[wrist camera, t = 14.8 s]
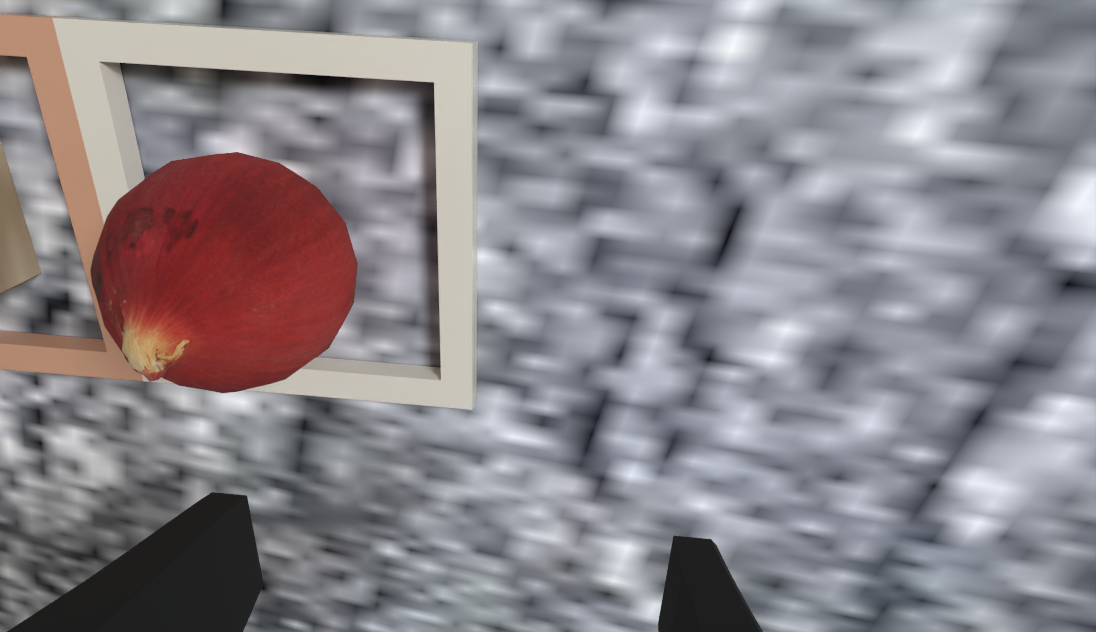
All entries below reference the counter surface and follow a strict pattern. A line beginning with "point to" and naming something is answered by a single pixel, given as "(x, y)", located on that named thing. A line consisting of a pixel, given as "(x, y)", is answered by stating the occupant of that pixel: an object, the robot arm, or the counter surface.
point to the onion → (223, 273)
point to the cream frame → (447, 63)
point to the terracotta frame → (60, 118)
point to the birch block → (13, 235)
